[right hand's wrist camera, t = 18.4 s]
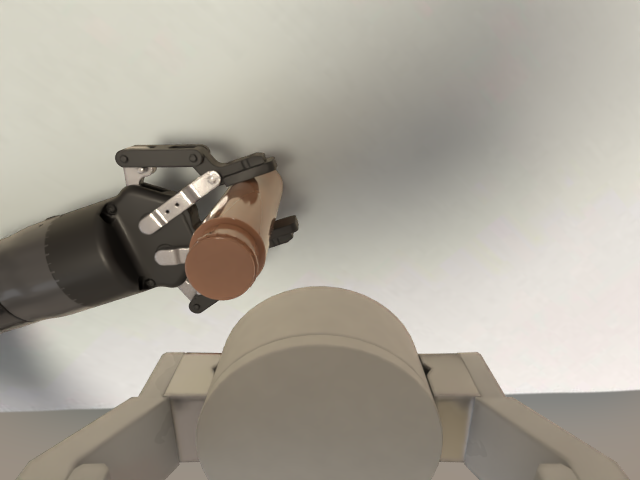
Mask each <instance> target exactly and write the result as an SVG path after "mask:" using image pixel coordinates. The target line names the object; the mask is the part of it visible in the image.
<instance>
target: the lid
mask: <svg viewBox="0 0 640 480" xmlns="http://www.w3.org/2000/svg"><path fill="white" fill-rule="evenodd" d="M196 445H197V452H198V457H199V460H200V463H201V466H202V469H203V471H204V473H205V475H206V477H207V479H208V480H431V479H432V477H433V475H434V473H435V471H436V469H437V467H438V464H439V460H440V457H441V453H442V445H443V431H442V424H441V420H440V416H439V413H438V410H437V407H436V404H435V402H434V399H433V396H432V393H431V390H430V387H429V384H428V382H427V379H426V376H425V373H424V370H423V368H422V365H421V362H420V359H419V356H418V353H417V351H416V348H415V345H414V343H413V340H412V338H411V336H410V334H409V333H408V331H407V329H406V328H405V326H404V325H403V324H402V323H401V321H400V320H399V319H398V318H397V317H396V316H395V315H394V314H393V313H392V312H391V311H389V310H388V309H387V308H386V307H384V306H383V305H381V304H380V303H378V302H377V301H375V300H373V299H371V298H369V297H367V296H365V295H362V294H359V293H357V292H354V291H351V290H346V289H342V288H336V287H326V286H317V287H304V288H297V289H293V290H289V291H285V292H282V293H280V294H277V295H275V296H272V297H270V298H268V299H266V300H265V301H263V302H261V303H259V304H258V305H256V306H255V307H254V308H252V309H251V310H250V311H248V312H247V313H246V314H245V315H244V316H243V317H242V318H241V319H240V320H239V321H238V323H237V324H236V325H235V327H234V328H233V329H232V331H231V333H230V335H229V337H228V338H227V341H226V343H225V346H224V349H223V351H222V354H221V357H220V360H219V363H218V366H217V368H216V371H215V374H214V377H213V380H212V383H211V385H210V388H209V391H208V394H207V397H206V399H205V402H204V405H203V408H202V411H201V413H200V416H199V420H198V425H197V430H196Z"/></svg>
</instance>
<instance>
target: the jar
mask: <svg viewBox="0 0 640 480" xmlns="http://www.w3.org/2000/svg"><path fill="white" fill-rule="evenodd" d="M282 192H283V182H282V179H281V176H280V175H279V173H278V172H277V171H276V170H274V171H272V172H269V173H266V174H263V175H260V176H257V177H255V178H252V179H249V180H246V181H243V182H239V183H237V184H234V185H231V186H230V187H229V188H228V189H227V190H226V192H225V193H224V194H223V196H222V197H221V198H220V200H219V201H218V202H217V203H216V205H215V206H214V207H213V209H212V210H211V211H210V213H209V214H208V215H207V216H206V218H205V219H204V220H203V222H202V223H201V224H200V226H199V227H198V228H197V229H196V231H195V232H194V234H193V236H192V238H191V240H190V245H189V252H188V254H187V257H186V260H185V272H186V276H187V279H188V281H189V282H190V284H191V285H192V287H193V288H194V289H195V290H196V291H197V292H199V293H200V294H202V295H203V296H205V297H208V298H210V299H214V300H230V299H234V298H236V297H238V296H240V295H242V294H243V293H245V292H246V291H247V290H248V289H249V287H251V285H252V284H253V283H254V281H255V279H256V277H257V276H258V275H259V274H260V272H261V271H262V269H263V267H264V264H265V260H266V256H267V252H268V248H269V244H270V240H271V236H272V232H273V228H274V224H275V220H276V216H277V212H278V208H279V204H280V200H281V196H282Z"/></svg>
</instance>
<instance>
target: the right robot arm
mask: <svg viewBox="0 0 640 480" xmlns="http://www.w3.org/2000/svg"><path fill="white" fill-rule="evenodd" d="M221 354H222V353H189V352H187V353H184V352H166V353H165V354H163V355H162V356H161V358H160V360H159V361H158V363H157V365H156V367H155V368H154V370H153V372H152V374H151V375H150V377H149V379H148V381H147V382H146V384H145V386H144V388H143V389H142V391H141V393H140V395H139V396H138V397H131V398H130V399H128V400H126V401H125V402H123V403H122V404H120V405H119V406H117V407H115V408H114V409H112V410H111V411H109V412H107V413H106V414H104V415H103V416H101V417H99V418H98V419H96V420H95V421H93V422H91V423H90V424H88V425H87V426H85V427H84V428H82V429H80V430H79V431H77V432H76V433H74V434H72V435H71V436H69V437H68V438H66V439H65V440H63V441H61V442H60V443H58V444H56V445H55V446H53V447H52V448H50V449H49V450H47V451H45V452H44V453H42V454H41V455H39V456H37V457H36V458H34V459H33V460H31V461H30V462H29V463H28V464H27V465H26V467H25V468H24V469H23V471H22V472H21V473H20V474H19V476H18V477H17V478H16V480H165V479H166V478H167V477H168V476H169V475H170V474H171V473H172V472H173V471H174V470H175V469H176V468H177V467H178V466H179V462H200V460H199V457H198V452H197V445H196V430H197V425H198V420H199V416H200V413H201V411H202V408H203V405H204V402H205V399H206V397H207V394H208V391H209V388H210V385H211V383H212V380H213V377H214V374H215V371H216V368H217V366H218V363H219V360H220V357H221ZM418 356H419V359H420V362H421V365H422V368H423V370H424V373H425V376H426V379H427V382H428V384H429V387H430V390H431V393H432V396H433V399H434V402H435V404H436V407H437V410H438V413H439V416H440V420H441V424H442V431H443V445H442V453H441V457H440V460H439V462H465V463H464V464H465V465H466V466H467V467H468V469H469V470H471V472H472V473H473V474H474V475H475V476H476V477H477V478H478V479H479V480H630V479H629V478H628V476H627V475H626V474H625V473H624V471H623V470H622V469H621V467H620V466H619V465H618V463H617V462H615V461H614V460H612V459H611V458H609V457H607V456H606V455H604V454H603V453H601V452H599V451H598V450H596V449H595V448H593V447H591V446H590V445H588V444H587V443H585V442H583V441H582V440H580V439H579V438H577V437H575V436H574V435H572V434H571V433H569V432H567V431H566V430H564V429H563V428H561V427H559V426H558V425H556V424H555V423H553V422H551V421H550V420H548V419H547V418H545V417H543V416H542V415H540V414H539V413H537V412H535V411H534V410H532V409H530V408H529V407H527V406H526V405H524V404H523V403H521V402H519V401H518V400H516V399H514V398H513V397H506V396H505V394H504V393H503V391H502V389H501V388H500V386H499V384H498V383H497V381H496V379H495V378H494V376H493V374H492V373H491V371H490V369H489V367H488V366H487V364H486V362H485V361H484V359H483V357H482V356H481V354H479V353H478V352H465V353H441V354H418Z"/></svg>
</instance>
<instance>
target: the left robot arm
mask: <svg viewBox="0 0 640 480" xmlns="http://www.w3.org/2000/svg"><path fill="white" fill-rule="evenodd" d="M115 160H116V162H117V164H118V165H119V166H121V167H123V168H124V174H125V179H126V185H127V186H126V187H124V188H123V189H122V190H121V192H120V193H119V194H118V195H117V196H115V197H113V198H110V199H107V200H104V201H101V202H98V203H95V204H92V205H89V206H87V207H84V208H81V209H78V210H75V211H72V212H69V213H66V214H63V215H58V216H53V217H50V218H47V219H46V220H45V221H43V222H40V223H37V224H34V225H32V226H29V227H27V228H25V229H23V230H21V231H19V232H17V233H15V234H13V235H11V236H9V237H7V238H4V239H1V240H0V334H1V333H3V332H7V331H10V330H13V329H17V328H20V327H23V326H26V325H29V324H32V323H35V322H39V321H42V320H46V319H51V318H57V317H63V316H67V315H71V314H74V313H77V312H81V311H84V310H87V309H90V308H93V307H96V306H100V305H103V304H106V303H109V302H112V301H115V300H119V299H122V298H125V297H128V296H131V295H134V294H137V293H141V292H144V291H147V290H149V289H152V288H155V287H160V286H163V287H170V288H174V287H178V288H179V289H180V290H181V291H182V292H183V293H184V294H185V295H186V296H187V297H188V298H189V299H190V301H191V302H190V304H189V309H190V310H191V311H192V312H193V313H201V312H203V311H204V310H206V309H207V308H208V307H210V306H211V305H213V304H214V303H216V302H217V301H219V300H214V299H210V298H208V297H205V296H203V295H202V294H200V293H199V292H197V291H196V290H195V289H194V288H193V287H192V285H191V284H190V282H189V281H188V279H187V276H186V272H185V260H186V257H187V254H188V252H189V245H190V240H191V238H192V236H193V234H194V232H195V231H196V229H197V228H198V227H199V226H200V224H201V223H202V222H201V221H200V219H199V215H198V209H197V207H196V204H195V202H197V201H198V200H199V199H200V198H202V197H203V196H205V195H206V194H207V193H209V192H210V191H212V190H213V189H214V188H216V187H217V186H220V185H223V184H225V185H226V187H228V186H231V185H234V184H237V183H239V182H243V181H246V180H249V179H252V178H255V177H257V176H260V175H263V174H266V173H269V172H272V171H274V170H276V168H277V163H276V160H275V158H274V157H270V158H267V159H266V156H265V154H264V153H254V154H251V155H248V156H245V157H242V158H239V159H237V160H234V161H231V162H228V163H220V162H218V161H217V160H215V158H214V157H213V156H212V155H211V154H210V150H209V148H208V147H207V146H205V145H203V144H191V145H134V146H131V147H128V148H125V149H123V150H120V151H118V152H117V153H116V156H115ZM157 167H193V168H194V169H195V170H196V171H197V172H198V173H199V174H200V175H201V176H200V177H198V178H197V179H195V180H194V181H192V182H191V183H190V184H188V185H187V186H186V187H184V188H183V189H181V190H180V191H179V192H175V191H171V190H168V189H165V188H161V187H158V186H154V185H151V184H147V183H144V178H145V177H147V176H149V175H151V174H153V173H154V172H155V171H156V170H157ZM298 226H299V223H298V221H297V218H296V216H295V215H293V216H289V217H286V218H283V219H280V220H277V221H275V224H274V228H273V232H272V236H271V240H270V244H269V248H271V247H274V246H277V245H280V244H284V243H287V242H288V241H290V240H291V239H292V238H293V233H294V232H296V231H297V230H298Z"/></svg>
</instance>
